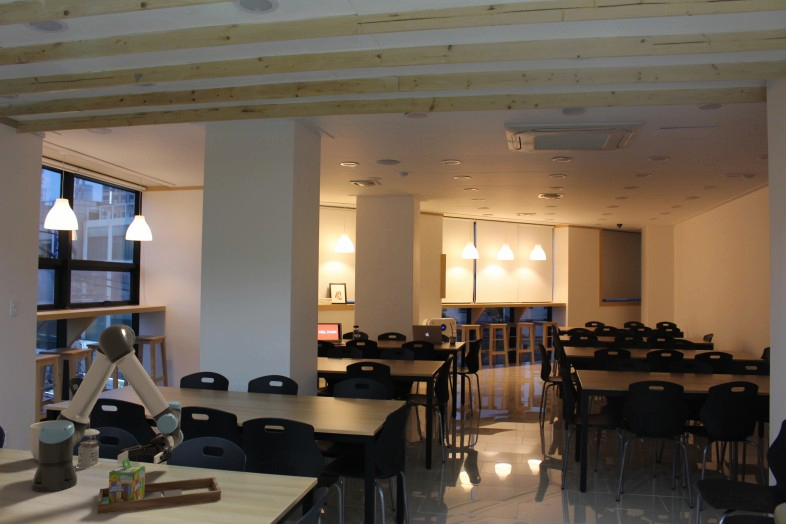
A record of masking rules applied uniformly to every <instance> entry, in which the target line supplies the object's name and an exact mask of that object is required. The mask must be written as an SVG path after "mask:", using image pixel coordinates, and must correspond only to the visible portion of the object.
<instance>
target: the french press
mask: <svg viewBox="0 0 786 524" xmlns="http://www.w3.org/2000/svg"><path fill="white" fill-rule="evenodd" d="M89 420H90V422H89V424H88V428H86V429H85V433H84V436H83V437H88V438H89V439H90V440H84V441H79V446H78V449H77V450H78V455H77V457H78V458H77V464H76V465H75V466H77V467H79V468H89V469H91V468H90V467H94V466H98V465H99V464H101V463H100V461H99V453H100V452H99V450H100V449H99V448H100V445H99V441H98V440H97V438H96V437H95V436H98V435H99V434H100V431H99V430H97V429H94V428H90V425H91V417H89ZM93 438H94V439H93ZM92 439H93V440H92ZM98 467H99V466H98Z"/></svg>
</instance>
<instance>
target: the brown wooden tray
mask: <svg viewBox="0 0 786 524" xmlns="http://www.w3.org/2000/svg"><path fill="white" fill-rule="evenodd" d="M212 486H213V487H212ZM203 487H212V489H213V490H209V491H201V492H192V493H182V495H173V496H165V497H164V496H162V497H156V498H147V499H139V500H130V501H121V502H112V503H104V504H102V498H103V497H109V487H105V488H100V489H99V493H98V498H97V507H96V515H104V514H110V513H119V512H128V511H129V512H130V511H136V510H137V511H138V510H144V509H151V508H159V507H170V506H177V505H178V506H180V505H185V504H193V503H194V504H195V503H201V502H211V501H219V499H220V500H221V498H222V496H221V495H222V491H221V489H220V488H221V487H220V486H219V483H218V481H217V478H216V477H215V476H210V477H209V476H208V477H200V478H191V479H190V478H189V479H181V480H172V481H162V482H153V483H145V490H144V493H146V492H155V491H161V492H164V490H173V489H181V490H185V489H195V488H203ZM101 513H102V514H101ZM103 513H104V514H103Z"/></svg>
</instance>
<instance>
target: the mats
mask: <svg viewBox="0 0 786 524" xmlns="http://www.w3.org/2000/svg"><path fill="white" fill-rule="evenodd" d="M182 494H183V492H182V489H173V490H164V491H163V496H162V491H155V492H146V493H144V499H147V498H156V497H165V496H173V495H182Z"/></svg>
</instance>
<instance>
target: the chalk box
mask: <svg viewBox="0 0 786 524" xmlns="http://www.w3.org/2000/svg"><path fill="white" fill-rule="evenodd" d="M129 458H130V457H128V458H126V459H125V460H123V461H122V462H121V463H122V465H119V466H117V467H116V468H114V469H113V470H111V471H109V472H108V473H109V474H108V475H109V476H108V488H109V503H112V502H121V501H130V500H139V499H144V490H145V484H146V483H145V482H146V466H145V465H131V462H130V459H129ZM126 463H127V465H126Z"/></svg>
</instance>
